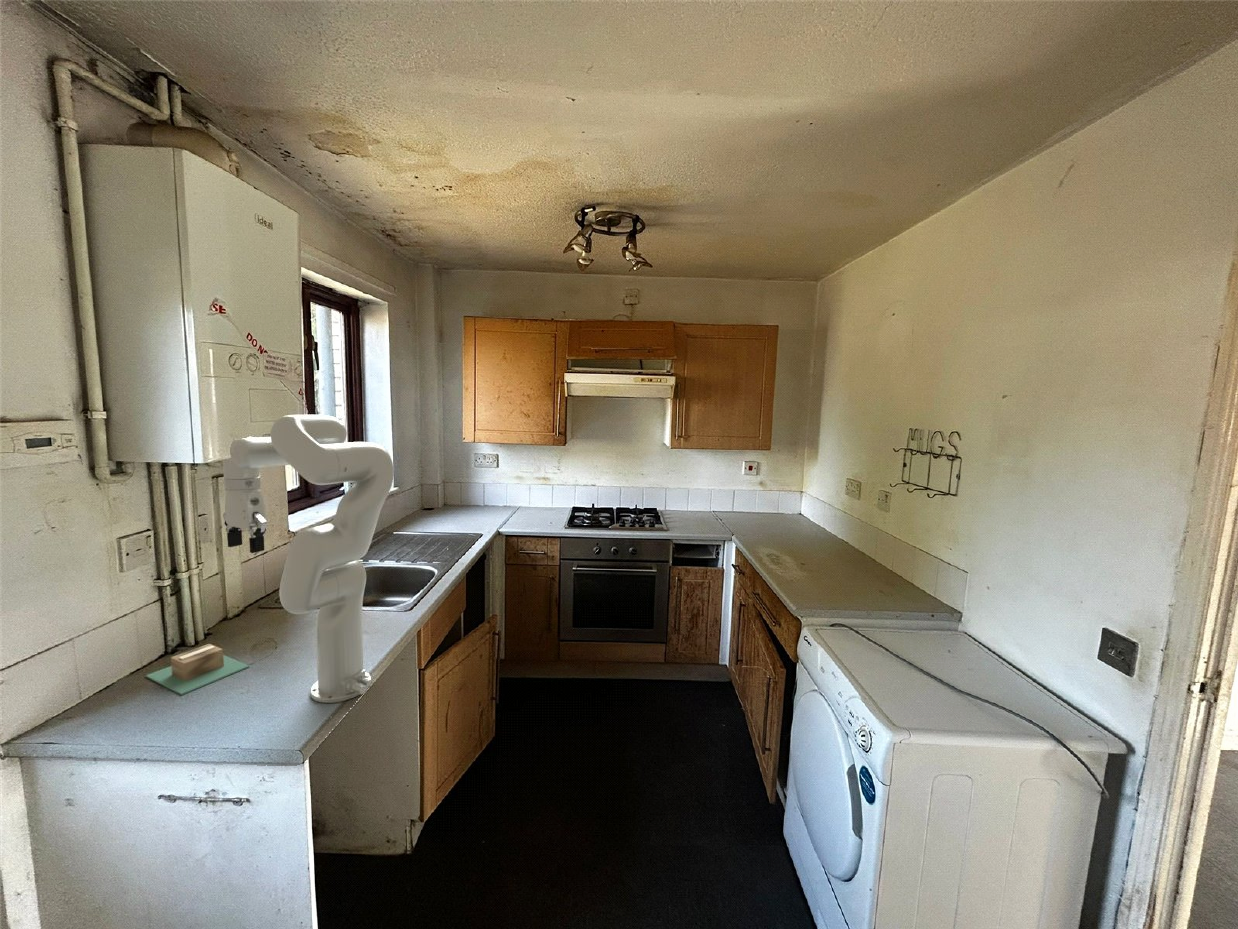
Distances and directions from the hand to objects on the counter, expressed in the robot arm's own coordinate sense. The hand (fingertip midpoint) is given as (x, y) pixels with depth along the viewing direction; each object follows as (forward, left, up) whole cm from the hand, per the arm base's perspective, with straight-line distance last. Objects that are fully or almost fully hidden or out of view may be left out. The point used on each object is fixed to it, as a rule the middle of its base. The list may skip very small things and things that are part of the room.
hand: (246, 548), depth 131 cm
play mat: (0, +12, -28) cm, 31 cm away
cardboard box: (0, +12, -28) cm, 30 cm away
